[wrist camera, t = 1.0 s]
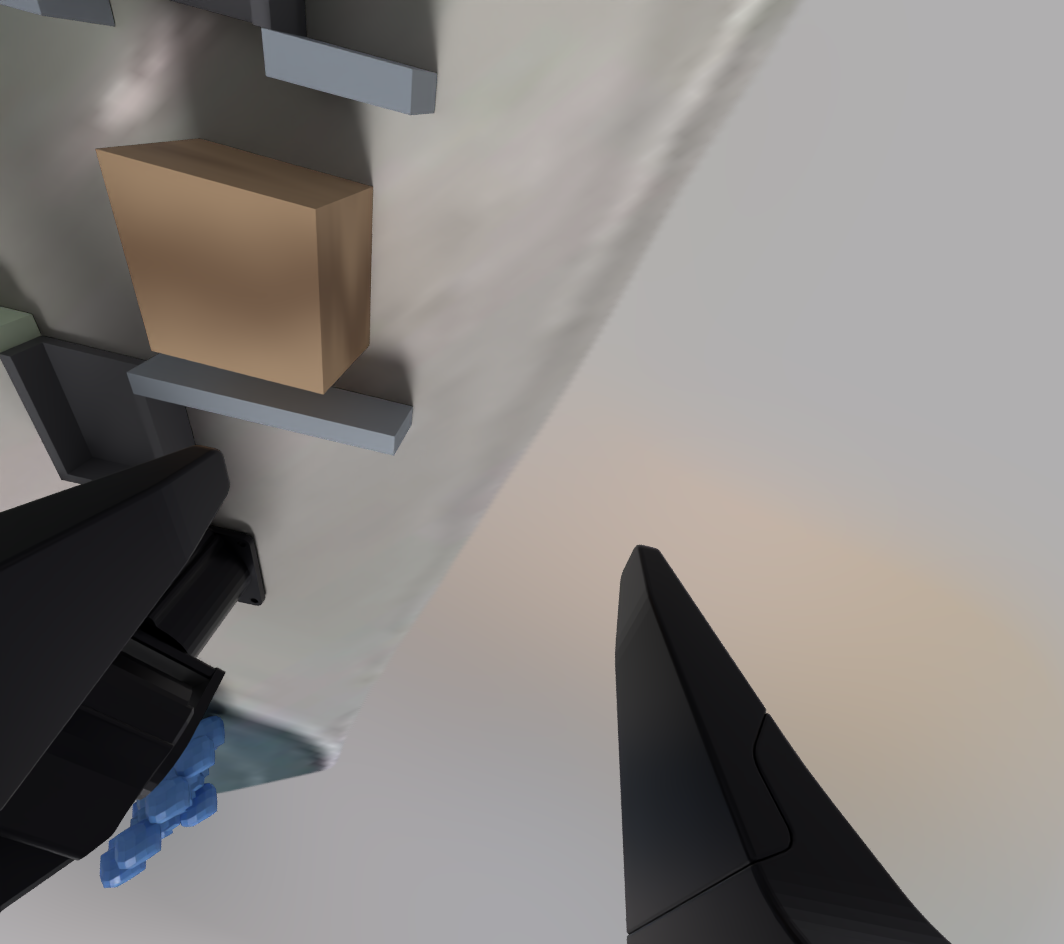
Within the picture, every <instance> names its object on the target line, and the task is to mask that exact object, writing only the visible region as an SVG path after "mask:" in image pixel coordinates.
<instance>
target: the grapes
mask: <svg viewBox="0 0 1064 944" xmlns="http://www.w3.org/2000/svg"><path fill="white" fill-rule="evenodd" d="M224 738H225V733H224V724H223V720H222V719H221V718H220V717H218V716H210V717H207V718H205V719H202V720H201V721H200V723H199V725H198V727H197V729H196V731H195V733H194V735H193V736H192V738H191V740H190V742H189V744H188V745H187V747H186V749H185V750H184V752H183V753H182V755H181V756H180V758H179V759H178V761H177V762H176V763H175V765H174V766H173V767H172V769H171V770H170V771H169V773H168V774H167V775H166V776H165V778H164V779H163V780H162V781H161V782H160V783H159V785H158V786H157V787H156V788H155V789H154V790H153V791H152V792H151V793H150V794H148V795H147V796H146V797H145V798H143V799H141V800H137V802H136V803H134V804H133V813H132V817H133V818H132V819H131V825H130V827H129V828H128V829H126V830H124V831H123V832H121V833H120V834H118V835H117V836H116V837H114V838H113V839H112V840H110V841H109V849H108V851H107V852H106V853H104V854H103V855H101V861H100V878H101V882H102V884H103V886H104V888H111V887H118V886H119V885H121V884H123V883H125V882H127V881H128V880H130V879H131V878H133V877H135V876H136V875H137V874H139V873H140V872H142V871H143V870H144V869H145V868H146V860H147V859H149V858H151V857H152V856H153V855H155V854H156V853H157V852H159V851H160V850H161V839H163V838H165V837H167V836H168V835H170V834H172V833H173V831H172V829H174V828H175V827H177V826H178V825H180V823H181V825H182V826H184V827H191V826H194V825H196V824H198V823H200V822H201V821H203V820H205V819H206V818H208V817H209V816H211V815H212V814H214V813H215V812H216V811H217V794H216V788H215V787H214V786H213V784H210V783H205V784H204V778H205V777H206V776H207V775H209V767H211V766H212V765H214V764H215V751H214V750H216V749H217V747H218V746H220V745H222V744H223V743H224Z"/></svg>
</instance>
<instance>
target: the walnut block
mask: <svg viewBox="0 0 1064 944" xmlns="http://www.w3.org/2000/svg"><path fill="white" fill-rule="evenodd" d="M96 153H97V157H98V160H99V164H100V167H101V171H102V175H103V178H104V182H105V185H106V189H107V193H108V196H109V200H110V203H111V207H112V211H113V214H114V218H115V221H116V225H117V229H118V232H119V236H120V239H121V243H122V247H123V250H124V254H125V257H126V261H127V265H128V268H129V272H130V275H131V279H132V283H133V286H134V290H135V293H136V297H137V301H138V304H139V308H140V311H141V315H142V319H143V322H144V326H145V329H146V333H147V337H148V340H149V344H150V347H151V351H154V352H158V353H162V354H166V355H170V356H174V357H178V358H182V359H186V360H190V361H193V362H197V363H201V364H205V365H209V366H213V367H217V368H221V369H225V370H229V371H233V372H237V373H241V374H245V375H248V376H252V377H256V378H260V379H264V380H268V381H272V382H276V383H280V384H284V385H288V386H292V387H296V388H300V389H304V390H307V391H311V392H315V393H319V394H323V395H324V394H325V392H326V391H327V390H328V389H329V388H330V387H331V386H332V385H333V384H334V383H335V382H336V381H337V380H338V378H339V377H340V376H341V375H342V374H343V373H344V372H345V371H346V370H347V369H348V368H349V367H350V366H351V365H352V363H353V362H354V361H355V360H356V359H357V358H358V357H359V356H360V355H361V354H362V353H363V352H364V351H365V349H366V348H367V347H368V346H369V340H370V297H371V254H372V210H373V187H372V186H369V185H365V184H361V183H358V182H354V181H351V180H347V179H343V178H340V177H336V176H333V175H329V174H326V173H322V172H318V171H315V170H311V169H308V168H304V167H300V166H297V165H293V164H290V163H286V162H282V161H279V160H275V159H272V158H268V157H264V156H261V155H257V154H254V153H250V152H247V151H243V150H239V149H236V148H232V147H229V146H225V145H221V144H218V143H214V142H211V141H207V140H203V139H200V138H198V139H188V140H178V141H168V142H158V143H148V144H138V145H128V146H118V147H108V148H98V149H96Z"/></svg>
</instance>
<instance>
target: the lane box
mask: <svg viewBox="0 0 1064 944" xmlns="http://www.w3.org/2000/svg"><path fill="white" fill-rule="evenodd" d="M171 1H175V2H178V3H182V4H186V5H189V6H193V7H197V8H200V9H204V10H207V11H211V12H215V13H218V14H222V15H226V16H229V17H233V18H237V19H240V20H244V21H247V22H251V23H253V25H256V26H260V27H263V28H261V31H262V41H263V51H264V61H265V72H266V76H268V77H271V78H275V79H279V80H282V81H286V82H290V83H294V84H297V85H301V86H305V87H308V88H312V89H316V90H319V91H323V92H327V93H330V94H334V95H338V96H342V97H345V98H349V99H353V100H356V101H360V102H364V103H367V104H371V105H375V106H379V107H382V108H386V109H390V110H393V111H397V112H401V113H404V114H408V115H417V114H429V113H434V110H435V97H436V83H437V73H435V72H431V71H427V70H424V69H420V68H416V67H413V66H409V65H406V64H402V63H398V62H395V61H391V60H387V59H384V58H380V57H376V56H373V55H369V54H366V53H362V52H358V51H355V50H351V49H347V48H344V47H340V46H337V45H333V44H329V43H326V42H322V41H318V40H315V39H311V38H307V35H306V16H305V0H171ZM0 4H1V5H5V6H9V7H12V8H16V9H20V10H24V11H27V12H31V13H35V14H38V15H42V16H49V17H55V18H62V19H69V20H75V21H82V22H89V23H95V24H102V25H108V26H115V24H114V20H113V15H112V11H111V7H110V3H109V0H0ZM266 28H267V29H266ZM0 359H1V361H2V363H3V365H4V367H5V369H6V371H7V373H8V375H9V377H10V379H11V380H12V382H13V384H14V386H15V388H16V390H17V392H18V394H19V396H20V398H21V400H22V402H23V404H24V406H25V408H26V410H27V412H28V414H29V416H30V418H31V420H32V422H33V424H34V426H35V428H36V430H37V432H38V434H39V436H40V438H41V440H42V442H43V444H44V446H45V448H46V450H47V452H48V454H49V456H50V458H51V460H52V462H53V464H54V466H55V468H56V470H57V472H58V474H59V476H60V478H61V480H65V481H70V482H74V483H78V484H84V483H87V482H89V481H92V480H95V479H98V478H101V477H104V476H107V475H110V474H113V473H115V472H118V471H121V470H124V469H127V468H130V467H133V466H136V465H138V464H141V463H144V462H147V461H150V460H153V459H156V458H159V457H161V456H164V455H167V454H170V453H173V452H176V451H179V450H182V449H184V448H187V447H190V446H194V445H195V442H194V438H193V434H192V431H191V427H190V423H189V419H188V416H187V412H186V408H185V406H187V407H192V408H196V409H200V410H204V411H208V412H213V413H217V414H221V415H225V416H229V417H234V418H238V419H242V420H246V421H251V422H255V423H259V424H263V425H267V426H272V427H276V428H280V429H284V430H288V431H293V432H297V433H301V434H305V435H309V436H314V437H318V438H322V439H326V440H331V441H335V442H339V443H343V444H347V445H352V446H356V447H360V448H364V449H368V450H373V451H377V452H381V453H385V454H389V455H394V454H395V453H396V451H397V449H398V447H399V446H400V444H401V442H402V440H403V439H404V437H405V435H406V433H407V432H408V430H409V428H410V426H411V425H412V411H413V406H408V405H404V404H400V403H396V402H392V401H388V400H384V399H380V398H375V397H371V396H367V395H363V394H359V393H355V392H351V391H347V390H343V389H338V388H334V387H330V388H329V389H328V390H327V391H326V392H325V394H324V395H323V394H319V393H315V392H311V391H307V390H304V389H300V388H296V387H292V386H288V385H284V384H280V383H276V382H272V381H268V380H264V379H260V378H256V377H252V376H248V375H245V374H241V373H237V372H233V371H229V370H225V369H221V368H217V367H213V366H209V365H205V364H201V363H197V362H193V361H190V360H186V359H182V358H178V357H174V356H170V355H166V354H162V353H159V354H157V355H156V356H154V357H152V358H150V359H149V360H147V361H145V360H141V359H137V358H133V357H129V356H124V355H120V354H116V353H112V352H108V351H104V350H100V349H95V348H91V347H87V346H83V345H79V344H75V343H71V342H66V341H62V340H58V339H54V338H50V337H46V336H41V334H40V332H39V329H38V327H37V325H36V322H35V320H34V318H33V315H32V314H29V313H25V312H21V311H17V310H13V309H9V308H5V307H0Z"/></svg>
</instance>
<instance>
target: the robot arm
mask: <svg viewBox="0 0 1064 944" xmlns="http://www.w3.org/2000/svg"><path fill="white" fill-rule="evenodd" d="M229 487H230V482H229V478H228V473H227V469H226V465H225V461H224V457H223V454H222V453H221V451H220V450H218V449H215V448H211V447H206V446H202V445H194V446H190V447H187V448H184V449H182V450H179V451H176V452H173V453H170V454H167V455H164V456H161V457H159V458H156V459H153V460H150V461H147V462H144V463H141V464H138V465H136V466H133V467H130V468H127V469H124V470H121V471H118V472H115V473H113V474H110V475H107V476H104V477H101V478H98V479H95V480H92V481H89V482H87V483H84V484H81V485H78V486H75V487H72V488H69V489H66V490H64V491H61V492H58V493H55V494H52V495H49V496H46V497H43V498H41V499H38V500H35V501H32V502H29V503H26V504H23V505H20V506H17V507H15V508H12V509H9V510H6V511H3V512H0V912H1V911H2V910H4V909H5V908H6V907H8V906H9V905H10V904H12V903H13V902H15V901H16V900H18V899H19V898H21V897H22V896H23V895H25V894H26V893H28V892H29V891H31V890H32V889H34V888H35V887H36V886H38V885H39V884H41V883H42V882H43V881H45V880H46V879H48V878H49V877H51V876H52V875H54V874H55V873H56V872H58V871H59V870H61V869H62V868H64V867H65V866H67V865H68V864H69V863H71V862H72V861H74V860H80V859H82V858H83V857H85V856H86V855H88V854H89V853H90V852H91V851H93V850H94V849H95V848H97V847H98V846H99V845H101V844H102V843H103V842H105V841H106V840H107V839H108V838H109V837H111V836H112V834H113V833H114V832H115V830H116V829H117V827H118V825H119V824H120V822H121V820H122V819H123V818H124V816H125V814H126V813H127V811H128V810H129V808H130V807H131V806H132V804H133V803H134V802H135V800H141V799H143V798H145V797H146V796H147V795H148V794H150V793H151V792H152V791H153V790H154V789H155V788H156V787H157V786H158V785H159V783H160V782H161V781H162V780H163V779H164V778H165V776H166V775H167V774H168V773H169V771H170V770H171V769H172V767H173V766H174V765H175V763H176V762H177V761H178V759H179V758H180V756H181V755H182V753H183V752H184V750H185V749H186V747H187V745H188V744H189V742H190V740H191V738H192V736H193V735H194V733H195V731H196V729H197V727H198V725H199V723H200V721H201V719H202V717H203V715H204V713H205V711H206V709H207V707H208V706H209V704H210V702H211V700H212V698H213V696H214V694H215V692H216V690H217V688H218V686H219V684H220V682H221V680H222V678H223V676H224V675H225V671H223V670H221V669H219V668H217V667H216V668H213V667H211V666H210V665H208V664H206V663H204V662H202V661H200V660H198V659H197V658H196V657H197V656H198V655H199V653H200V652H201V651H202V649H203V648H204V646H205V645H206V644H207V642H208V641H209V639H210V638H211V637H212V635H213V634H214V632H215V631H216V630H217V628H218V627H219V626H220V624H221V623H222V621H223V620H224V619H225V617H226V616H227V614H228V613H229V612H230V610H231V609H232V607H233V606H234V605H235V603H236V602H237V601H238V602H243V603H247V604H252V605H257V606H259V605H261V604H262V603H263V601H264V600H265V593H264V588H263V584H262V579H261V574H260V569H259V564H258V559H257V554H256V549H255V544H254V540H253V538H252V537H251V536H249V535H247V534H245V533H241V532H236V531H232V530H227V529H223V528H218V527H214V526H210V523H211V522H212V520H213V518H214V517H215V515H216V513H217V512H218V510H219V508H220V506H221V505H222V503H223V501H224V500H225V498H226V496H227V494H228V491H229ZM615 648H616V649H615V671H616V693H617V718H618V738H619V739H618V740H619V764H620V785H621V786H620V787H621V809H622V831H623V855H624V877H625V900H626V923H627V933H628V934H629V935H628V936H627V944H951V943H950V942H949V941H948V940H947V939H946V938H945V937H944V936H943V935H941V934H940V933H939V931H938V930H936V929H935V928H934V927H933V926H932V925H931V924H930V923H929V921H928V920H927V919H926V918H925V917H924V916H923V915H922V914H921V913H920V912H919V911H918V910H917V908H916V907H915V906H914V905H913V904H912V903H911V901H910V900H909V899H908V898H907V897H906V895H905V894H904V893H903V892H902V890H901V889H900V888H899V886H898V885H897V884H896V883H895V881H894V880H893V879H892V878H891V876H890V875H889V874H888V873H887V871H886V870H885V869H884V867H883V866H882V865H881V863H880V862H879V861H878V860H877V858H876V857H875V856H874V855H873V853H872V852H871V851H870V849H869V848H868V847H867V846H866V844H865V843H864V842H863V840H862V839H861V838H860V837H859V835H858V834H857V833H856V832H855V830H854V829H853V828H852V826H851V825H850V824H849V823H848V821H847V820H846V819H845V817H844V816H843V815H842V814H841V812H840V811H839V810H838V809H837V807H836V806H835V805H834V803H833V802H832V801H831V799H830V798H829V797H828V795H827V794H826V793H825V792H824V790H823V789H822V788H821V787H820V785H819V784H818V782H817V781H816V780H815V778H814V777H813V776H812V774H811V773H810V772H809V770H808V769H807V768H806V766H805V765H804V763H803V762H802V761H801V759H800V758H799V756H798V755H797V754H796V752H795V751H794V749H793V748H792V747H791V745H790V743H789V742H788V741H787V739H786V738H785V736H784V735H783V733H782V732H781V730H780V729H779V727H778V726H777V725H776V723H775V722H774V720H773V719H772V717H771V716H770V714H768V713H766V708H765V707H764V705H763V704H762V702H761V701H760V699H759V698H758V697H757V695H756V694H755V692H754V691H753V689H752V688H751V686H750V685H749V683H748V682H747V680H746V679H745V677H744V676H743V674H742V673H741V671H740V670H739V669H738V667H737V665H736V664H735V662H734V661H733V659H732V658H731V657H730V655H729V653H728V652H727V650H726V649H725V647H724V646H723V644H722V643H721V641H720V640H719V638H718V637H717V635H716V634H715V632H714V631H713V630H712V628H711V627H710V625H709V624H708V622H707V621H706V619H705V618H704V616H703V615H702V613H701V612H700V610H699V609H698V607H697V606H696V604H695V603H694V601H693V600H692V598H691V597H690V595H689V594H688V592H687V591H686V589H685V588H684V586H683V585H682V583H681V582H680V580H679V579H678V578H677V576H676V574H675V573H674V571H673V570H672V568H671V567H670V566H669V564H668V563H667V561H666V560H665V558H664V557H663V555H662V554H661V552H660V551H659V550H658V549H656V548H653V547H649V546H644V545H637V546H636V547H635V548H634V550H633V552H632V554H631V556H630V558H629V560H628V562H627V564H626V566H625V568H624V570H623V572H622V576H621V581H620V593H619V606H618V619H617V634H616V647H615Z"/></svg>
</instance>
